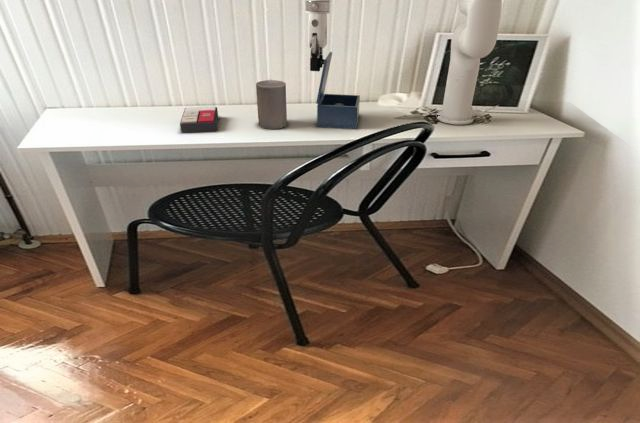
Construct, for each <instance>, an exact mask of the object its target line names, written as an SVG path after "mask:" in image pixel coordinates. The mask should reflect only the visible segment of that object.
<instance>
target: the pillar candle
mask: <svg viewBox="0 0 640 423" xmlns="http://www.w3.org/2000/svg"><path fill="white" fill-rule="evenodd" d="M255 89H256V92H255V93H256V106H257V117H258V118H257V119H258V127H260V128H262V129H266V130H277V129H282V128H285V127H286V126H287V125H288V114H287V83H286V82H285V81H283V80H277V79H276V80H275V79H271V78H269V79H266V80H265V79H264V80H261V81H258V82H256V83H255Z"/></svg>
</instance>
